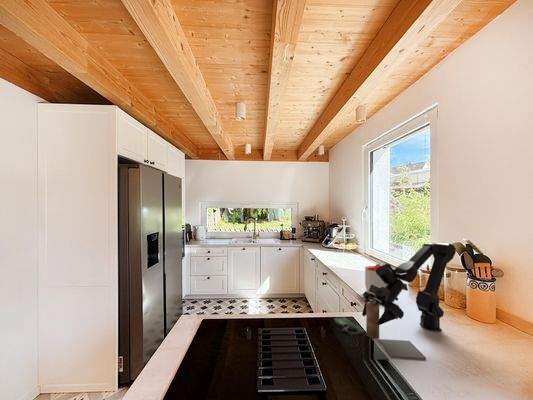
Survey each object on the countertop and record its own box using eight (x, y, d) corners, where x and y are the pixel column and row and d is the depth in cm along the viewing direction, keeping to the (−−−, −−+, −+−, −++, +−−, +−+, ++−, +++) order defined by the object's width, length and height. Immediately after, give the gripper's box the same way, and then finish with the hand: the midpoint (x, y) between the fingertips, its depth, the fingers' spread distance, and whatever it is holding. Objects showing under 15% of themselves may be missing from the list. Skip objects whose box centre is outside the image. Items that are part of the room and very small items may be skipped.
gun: (327, 318, 122) (345, 316, 125) (326, 321, 122) (345, 319, 125) (348, 334, 107) (368, 331, 110) (348, 338, 107) (368, 335, 110)
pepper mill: (376, 333, 111) (376, 298, 111) (381, 338, 106) (381, 302, 106) (364, 332, 111) (364, 298, 111) (368, 338, 106) (368, 302, 106)
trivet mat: (409, 342, 103) (409, 340, 103) (426, 360, 91) (426, 357, 91) (378, 341, 104) (378, 339, 104) (390, 358, 92) (390, 355, 92)
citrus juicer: (394, 295, 163) (394, 262, 164) (390, 303, 148) (390, 267, 149) (368, 290, 171) (368, 259, 172) (362, 297, 157) (362, 264, 158)
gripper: (366, 273, 119) (345, 299, 116) (397, 284, 101) (374, 316, 98) (380, 289, 121) (360, 315, 118) (413, 303, 103) (391, 334, 100)
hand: (370, 319), depth 108 cm, fingers open, 9 cm apart
